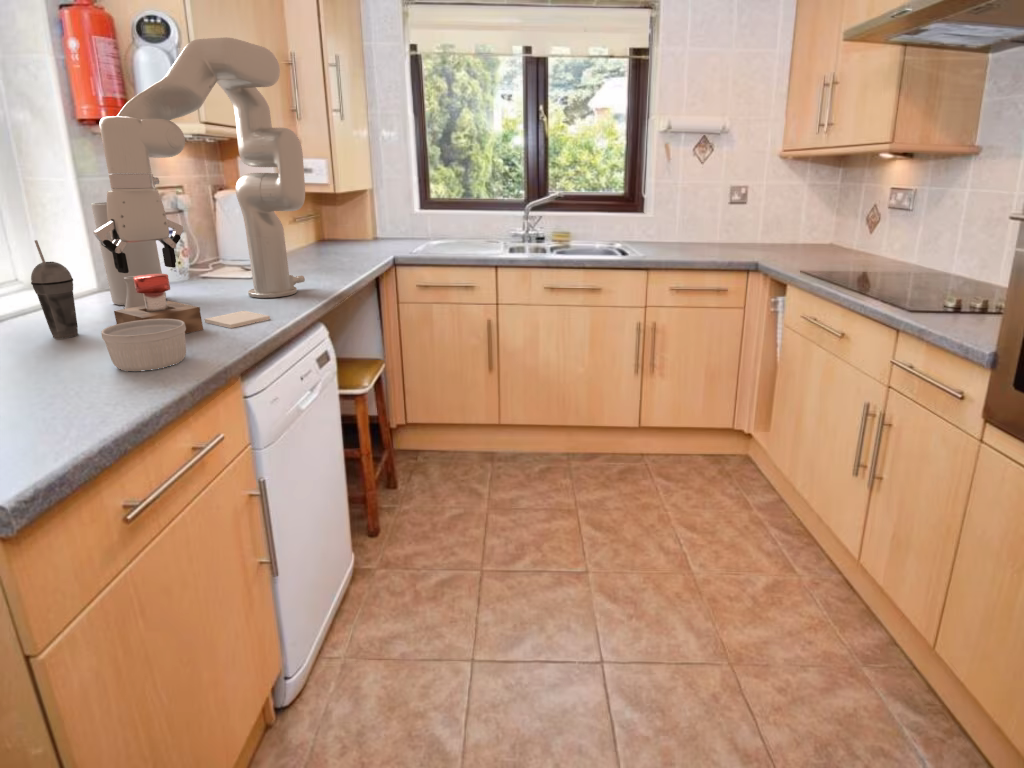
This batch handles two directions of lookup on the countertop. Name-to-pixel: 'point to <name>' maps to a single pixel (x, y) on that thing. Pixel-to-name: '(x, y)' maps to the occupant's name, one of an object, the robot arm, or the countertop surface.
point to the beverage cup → (55, 297)
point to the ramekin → (146, 343)
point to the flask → (133, 294)
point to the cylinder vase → (138, 258)
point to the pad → (237, 319)
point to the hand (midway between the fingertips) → (147, 269)
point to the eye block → (164, 315)
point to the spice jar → (153, 290)
